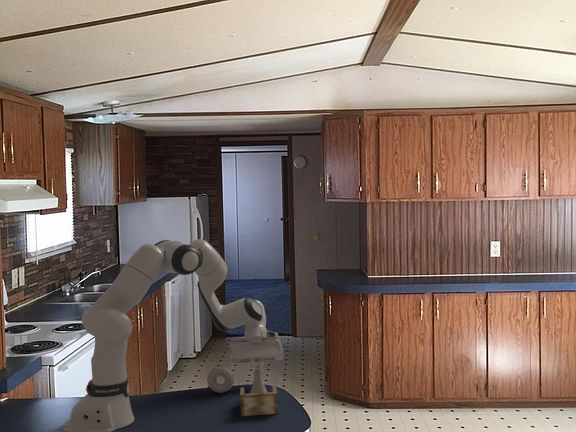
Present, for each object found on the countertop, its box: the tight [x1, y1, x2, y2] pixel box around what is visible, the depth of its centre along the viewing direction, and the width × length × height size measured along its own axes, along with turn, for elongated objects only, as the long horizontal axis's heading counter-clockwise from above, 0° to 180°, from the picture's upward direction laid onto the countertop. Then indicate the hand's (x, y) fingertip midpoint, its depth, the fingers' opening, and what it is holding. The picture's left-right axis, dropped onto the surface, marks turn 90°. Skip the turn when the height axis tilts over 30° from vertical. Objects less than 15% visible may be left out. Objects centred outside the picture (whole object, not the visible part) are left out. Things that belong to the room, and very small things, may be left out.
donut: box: [206, 365, 235, 394], centre depth 233 cm, size 10×3×10 cm, turn 85°
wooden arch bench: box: [239, 384, 279, 417], centre depth 215 cm, size 12×11×7 cm
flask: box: [249, 368, 268, 394], centre depth 227 cm, size 7×7×10 cm
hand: (257, 370), depth 237 cm, fingers closed
